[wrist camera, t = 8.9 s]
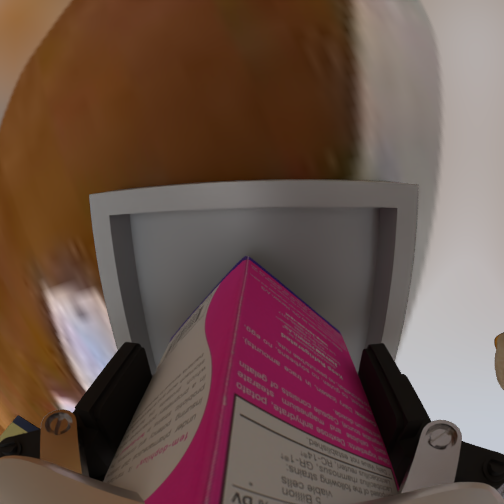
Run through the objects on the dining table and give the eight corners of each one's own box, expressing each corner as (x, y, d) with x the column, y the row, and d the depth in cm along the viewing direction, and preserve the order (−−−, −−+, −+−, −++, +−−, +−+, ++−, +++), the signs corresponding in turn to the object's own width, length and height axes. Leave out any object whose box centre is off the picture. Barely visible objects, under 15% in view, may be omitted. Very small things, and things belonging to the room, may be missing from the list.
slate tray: (392, 181, 13) (418, 184, 10) (362, 401, 17) (372, 430, 14) (118, 189, 14) (89, 194, 11) (157, 399, 17) (145, 427, 15)
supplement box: (262, 401, 14) (246, 611, 3) (169, 337, 13) (53, 556, 2) (346, 332, 12) (430, 582, 1) (247, 248, 12) (146, 607, 1)
